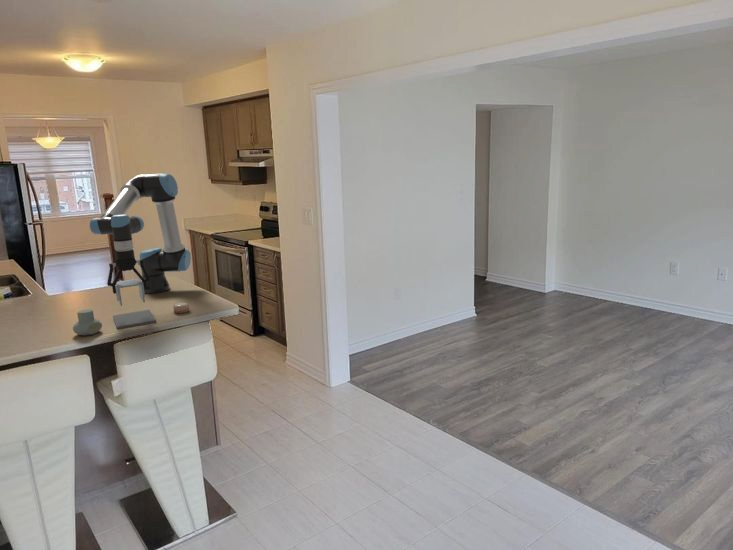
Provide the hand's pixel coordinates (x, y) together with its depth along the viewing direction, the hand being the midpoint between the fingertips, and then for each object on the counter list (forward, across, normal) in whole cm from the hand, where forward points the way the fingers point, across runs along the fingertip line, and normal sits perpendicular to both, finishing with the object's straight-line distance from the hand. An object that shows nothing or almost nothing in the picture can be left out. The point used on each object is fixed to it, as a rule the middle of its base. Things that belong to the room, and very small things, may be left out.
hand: (131, 298), depth 236 cm
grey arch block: (+1, 0, 0) cm, 1 cm away
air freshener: (+11, -19, -9) cm, 23 cm away
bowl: (+10, +21, 0) cm, 23 cm away
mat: (+10, 0, 0) cm, 10 cm away
